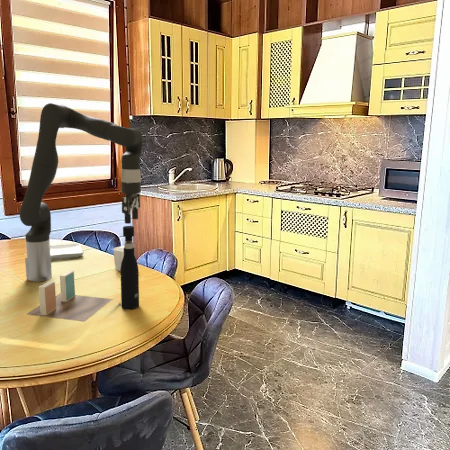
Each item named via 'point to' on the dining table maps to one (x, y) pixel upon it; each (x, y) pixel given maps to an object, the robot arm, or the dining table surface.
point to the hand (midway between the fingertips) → (131, 221)
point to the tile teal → (67, 286)
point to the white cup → (118, 257)
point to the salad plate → (65, 251)
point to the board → (74, 308)
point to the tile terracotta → (47, 297)
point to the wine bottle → (129, 273)
